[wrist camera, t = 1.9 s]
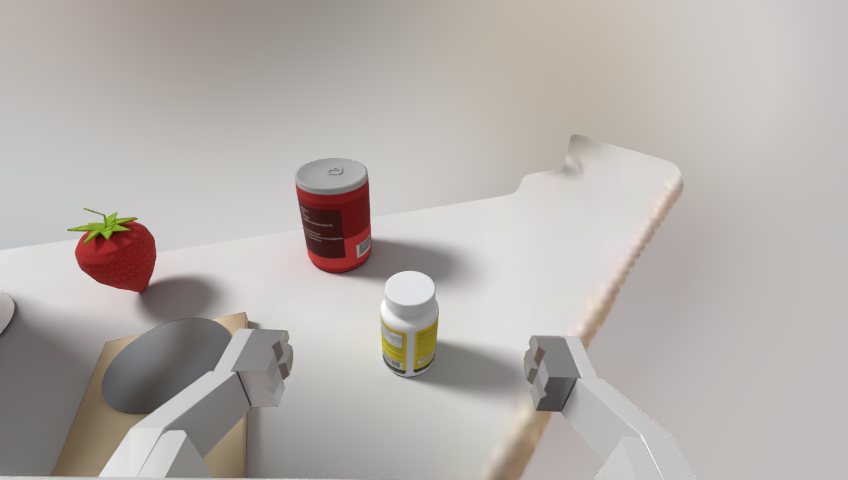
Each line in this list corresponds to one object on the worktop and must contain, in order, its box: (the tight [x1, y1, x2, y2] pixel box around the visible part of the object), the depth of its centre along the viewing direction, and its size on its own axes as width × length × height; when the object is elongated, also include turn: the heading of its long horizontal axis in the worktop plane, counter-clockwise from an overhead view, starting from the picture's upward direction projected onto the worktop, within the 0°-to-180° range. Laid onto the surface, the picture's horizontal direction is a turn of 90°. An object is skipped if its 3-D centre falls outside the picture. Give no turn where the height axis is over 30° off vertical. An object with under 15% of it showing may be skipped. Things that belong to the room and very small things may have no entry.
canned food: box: [295, 158, 371, 273], centre depth 41 cm, size 8×8×11 cm
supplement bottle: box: [381, 271, 439, 377], centre depth 30 cm, size 5×5×8 cm
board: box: [51, 312, 248, 478], centre depth 24 cm, size 11×23×2 cm, turn 21°
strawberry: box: [68, 208, 156, 292], centre depth 35 cm, size 6×8×10 cm
